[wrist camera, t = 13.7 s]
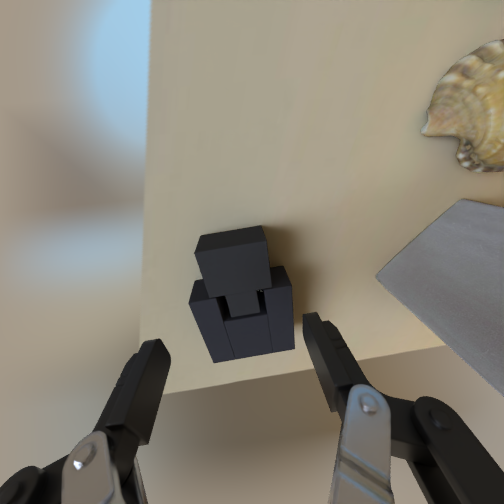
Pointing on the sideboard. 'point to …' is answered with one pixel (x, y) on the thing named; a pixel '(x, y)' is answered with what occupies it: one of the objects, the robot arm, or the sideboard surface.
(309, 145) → the sideboard surface
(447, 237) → the planter
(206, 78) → the sideboard surface
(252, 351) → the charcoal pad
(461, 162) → the seashell
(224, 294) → the black block
